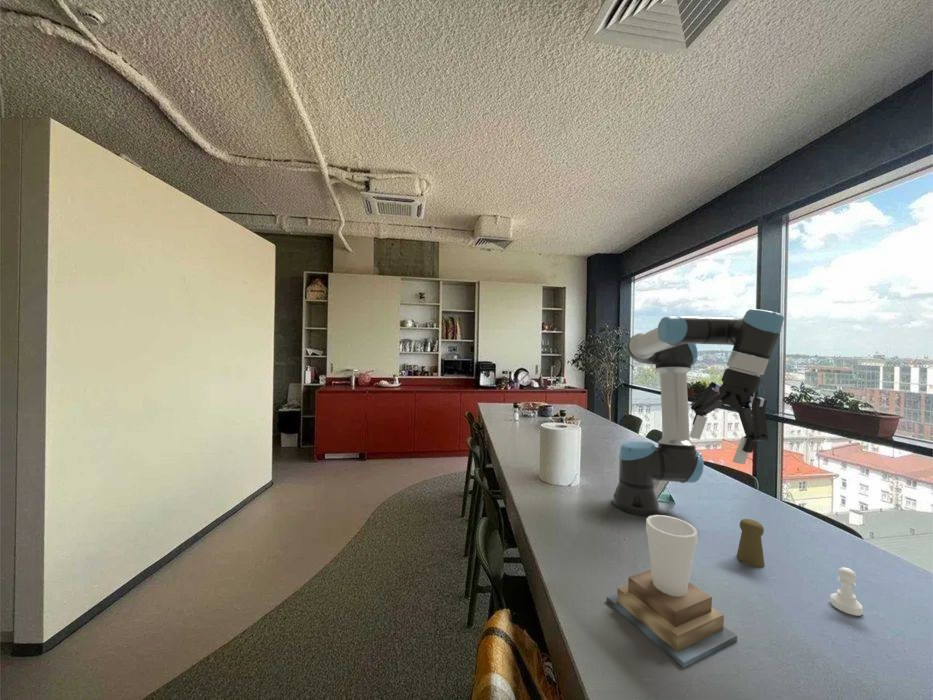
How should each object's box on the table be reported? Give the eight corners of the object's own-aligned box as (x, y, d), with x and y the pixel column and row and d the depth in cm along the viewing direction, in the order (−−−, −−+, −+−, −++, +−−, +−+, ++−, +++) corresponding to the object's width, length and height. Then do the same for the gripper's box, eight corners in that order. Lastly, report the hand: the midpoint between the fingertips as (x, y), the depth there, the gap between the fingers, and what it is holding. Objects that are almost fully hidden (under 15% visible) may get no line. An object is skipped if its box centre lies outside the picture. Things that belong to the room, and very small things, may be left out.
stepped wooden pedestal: (606, 601, 80) (607, 570, 80) (655, 583, 86) (656, 555, 86) (683, 668, 63) (685, 629, 63) (737, 640, 70) (738, 605, 70)
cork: (758, 557, 99) (760, 518, 99) (769, 569, 93) (770, 528, 93) (733, 552, 101) (734, 514, 101) (741, 564, 95) (743, 524, 95)
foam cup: (635, 572, 79) (637, 514, 79) (674, 571, 80) (676, 514, 80) (662, 602, 70) (664, 537, 70) (706, 601, 70) (708, 537, 70)
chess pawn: (825, 597, 83) (826, 559, 83) (853, 603, 81) (854, 565, 81) (838, 612, 78) (839, 572, 78) (868, 619, 77) (870, 578, 76)
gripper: (810, 389, 76) (774, 477, 79) (714, 363, 100) (690, 431, 104) (782, 383, 75) (747, 473, 78) (692, 357, 99) (668, 427, 102)
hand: (714, 449), depth 91 cm, fingers open, 13 cm apart
